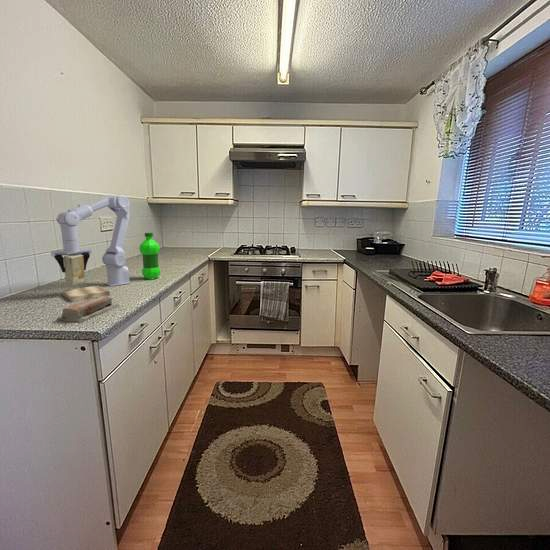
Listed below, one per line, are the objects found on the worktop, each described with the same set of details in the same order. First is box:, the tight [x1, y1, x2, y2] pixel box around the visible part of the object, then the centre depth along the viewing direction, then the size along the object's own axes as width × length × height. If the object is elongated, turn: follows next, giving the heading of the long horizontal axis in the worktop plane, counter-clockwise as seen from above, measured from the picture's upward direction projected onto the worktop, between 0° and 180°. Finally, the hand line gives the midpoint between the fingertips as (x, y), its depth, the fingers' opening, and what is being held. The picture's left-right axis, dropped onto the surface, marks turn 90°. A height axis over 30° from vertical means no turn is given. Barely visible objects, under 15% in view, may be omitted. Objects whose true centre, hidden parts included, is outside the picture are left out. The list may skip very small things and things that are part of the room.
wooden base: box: [62, 285, 110, 303], centre depth 128 cm, size 14×14×2 cm
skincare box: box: [63, 254, 86, 286], centre depth 129 cm, size 6×4×12 cm
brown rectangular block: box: [56, 296, 120, 323], centre depth 106 cm, size 18×5×10 cm
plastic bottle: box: [139, 232, 162, 280], centre depth 161 cm, size 10×10×25 cm
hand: (74, 271), depth 130 cm, fingers closed on skincare box, 7 cm apart
